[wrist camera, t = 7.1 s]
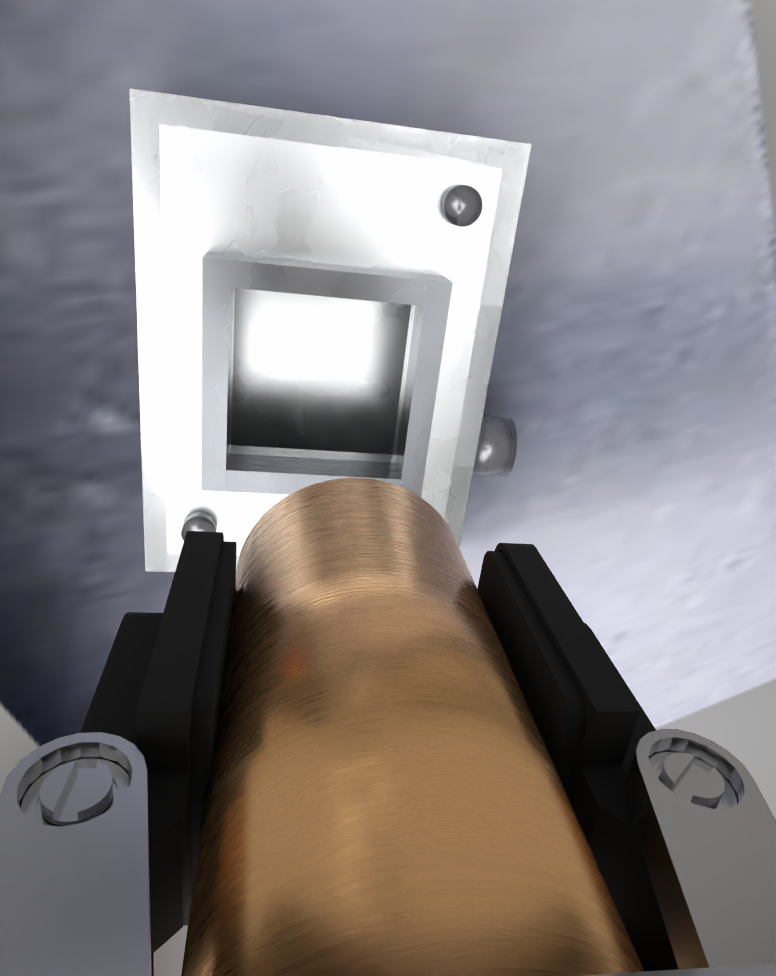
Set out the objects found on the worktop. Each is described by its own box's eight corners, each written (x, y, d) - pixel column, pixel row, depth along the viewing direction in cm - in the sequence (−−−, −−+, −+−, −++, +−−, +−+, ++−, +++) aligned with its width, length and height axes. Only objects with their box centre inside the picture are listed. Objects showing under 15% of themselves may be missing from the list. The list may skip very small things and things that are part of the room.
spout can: (238, 471, 11) (64, 1490, 3) (476, 483, 12) (971, 1332, 3) (232, 669, 13) (113, 1700, 4) (443, 671, 14) (712, 1567, 5)
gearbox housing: (159, 102, 24) (117, 83, 18) (540, 154, 27) (611, 151, 21) (166, 511, 31) (137, 593, 25) (471, 525, 33) (511, 602, 27)
